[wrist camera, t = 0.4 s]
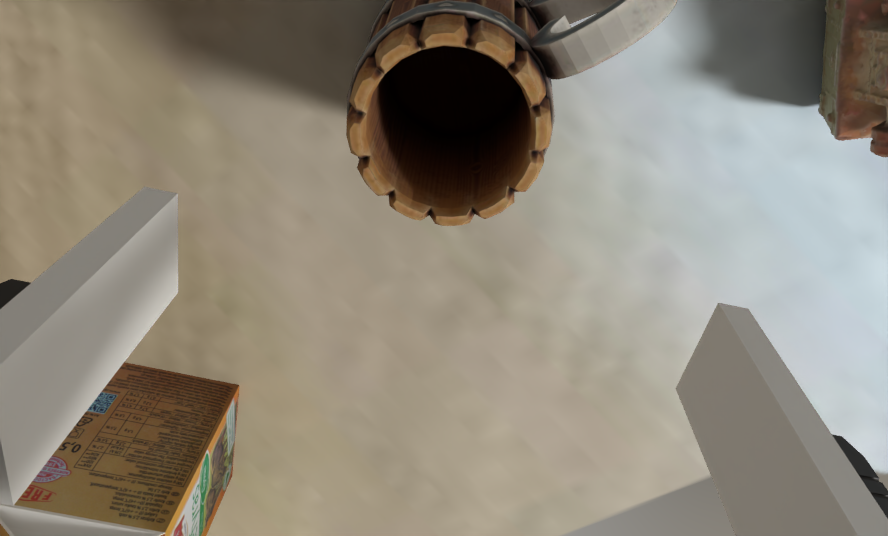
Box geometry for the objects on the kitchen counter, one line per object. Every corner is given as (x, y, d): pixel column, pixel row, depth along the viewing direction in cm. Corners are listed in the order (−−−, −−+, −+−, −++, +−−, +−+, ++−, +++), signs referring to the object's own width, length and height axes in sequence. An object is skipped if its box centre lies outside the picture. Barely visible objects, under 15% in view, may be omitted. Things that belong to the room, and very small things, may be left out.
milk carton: (106, 358, 51) (-71, 573, 35) (239, 385, 52) (127, 608, 35) (111, 453, 56) (-42, 680, 40) (231, 476, 57) (130, 708, 40)
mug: (432, 174, 42) (412, 292, 29) (335, 31, 38) (261, 94, 25) (654, 41, 38) (749, 111, 25) (571, -137, 34) (630, -167, 21)
